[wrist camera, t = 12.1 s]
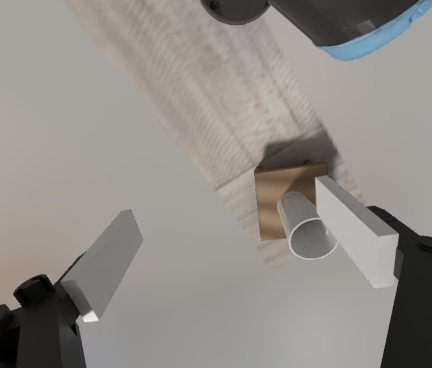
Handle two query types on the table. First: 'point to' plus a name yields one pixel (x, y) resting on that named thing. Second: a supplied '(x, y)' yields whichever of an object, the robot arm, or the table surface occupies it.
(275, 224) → the low wooden table
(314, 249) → the cup
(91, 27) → the table surface
